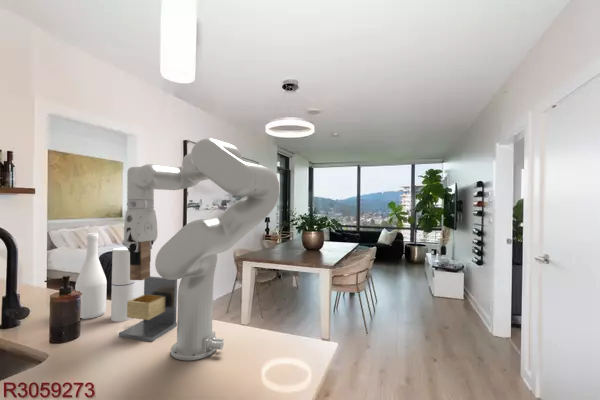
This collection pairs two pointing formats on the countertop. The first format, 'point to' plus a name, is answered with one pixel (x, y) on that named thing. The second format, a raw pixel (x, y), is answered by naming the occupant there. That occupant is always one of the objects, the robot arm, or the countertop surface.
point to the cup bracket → (153, 310)
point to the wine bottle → (92, 282)
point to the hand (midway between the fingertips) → (140, 262)
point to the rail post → (141, 263)
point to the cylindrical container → (121, 284)
